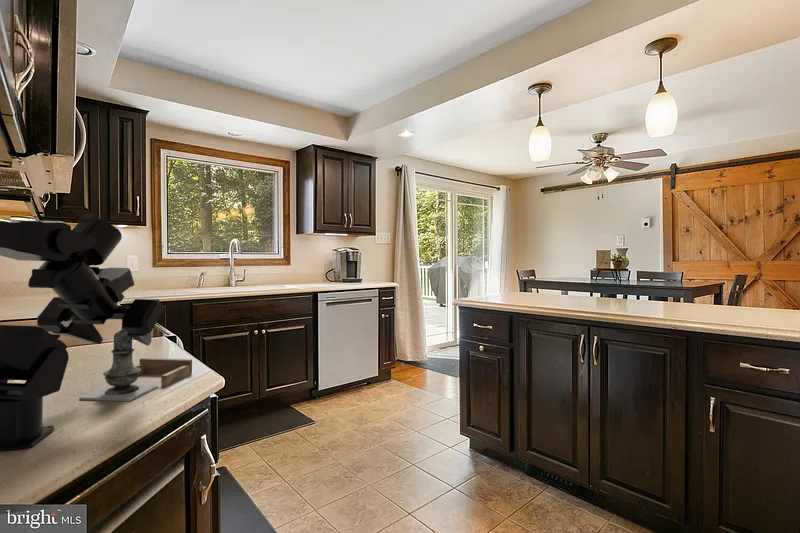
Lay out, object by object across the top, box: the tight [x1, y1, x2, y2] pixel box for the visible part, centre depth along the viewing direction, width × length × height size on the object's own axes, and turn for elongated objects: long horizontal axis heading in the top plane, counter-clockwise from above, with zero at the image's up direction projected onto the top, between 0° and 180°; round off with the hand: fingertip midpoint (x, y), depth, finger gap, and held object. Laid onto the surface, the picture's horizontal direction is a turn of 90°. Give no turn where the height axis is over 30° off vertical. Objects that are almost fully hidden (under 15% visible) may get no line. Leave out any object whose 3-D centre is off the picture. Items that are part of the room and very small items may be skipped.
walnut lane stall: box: [134, 357, 193, 387], centre depth 86 cm, size 10×11×3 cm
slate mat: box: [78, 384, 159, 402], centre depth 76 cm, size 8×9×1 cm
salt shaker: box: [102, 327, 141, 395], centre depth 76 cm, size 6×6×12 cm
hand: (125, 342), depth 77 cm, fingers open, 9 cm apart
